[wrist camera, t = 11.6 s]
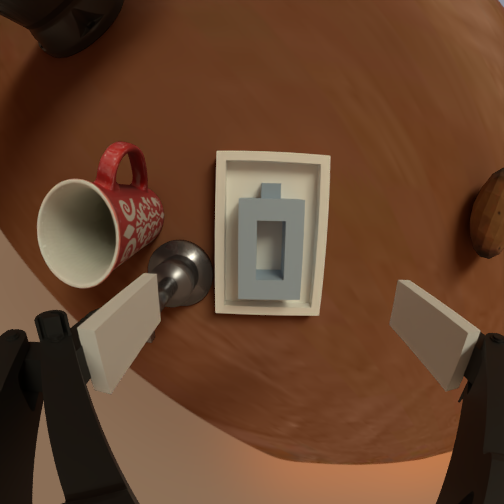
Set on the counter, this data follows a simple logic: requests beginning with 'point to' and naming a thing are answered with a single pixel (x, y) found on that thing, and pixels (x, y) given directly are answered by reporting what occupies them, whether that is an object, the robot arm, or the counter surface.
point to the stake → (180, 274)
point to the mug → (98, 220)
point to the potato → (489, 217)
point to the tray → (270, 226)
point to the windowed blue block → (289, 277)
